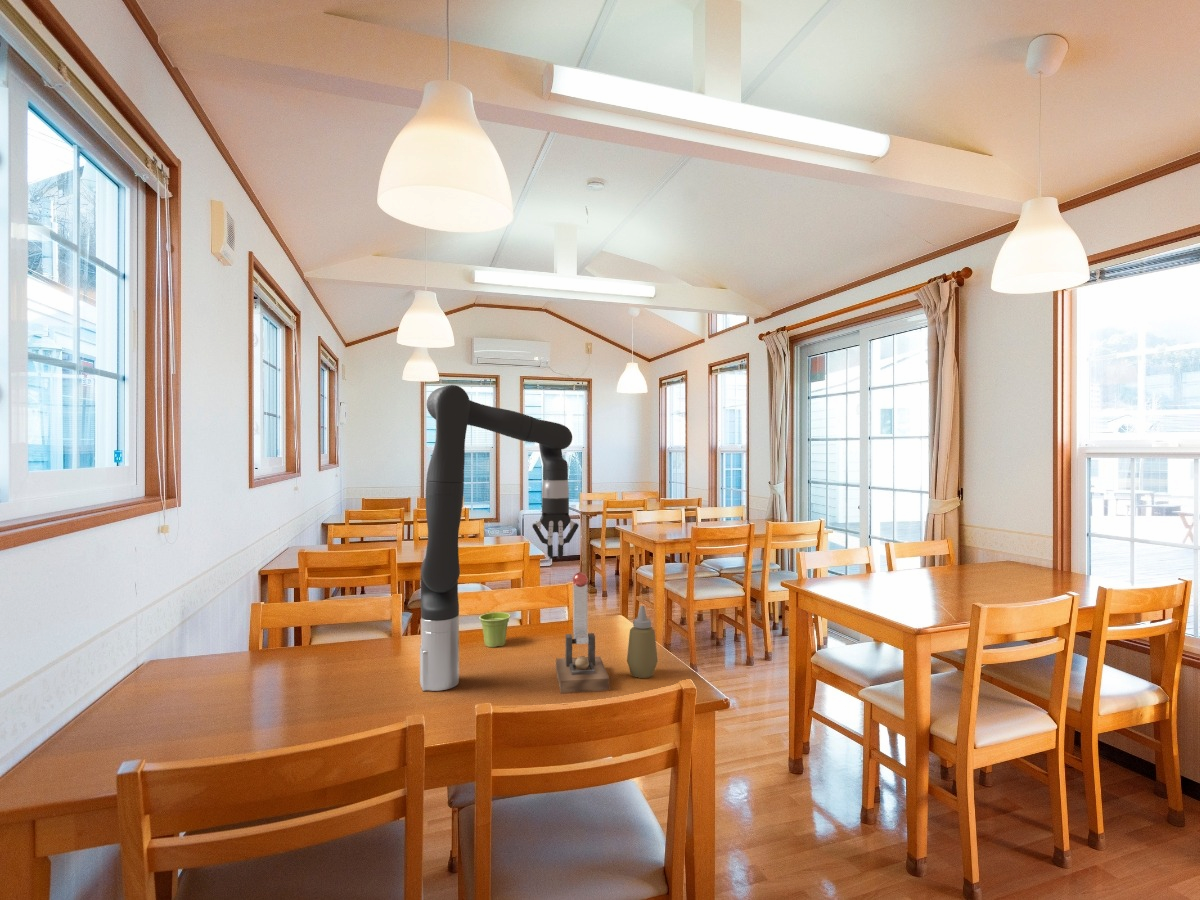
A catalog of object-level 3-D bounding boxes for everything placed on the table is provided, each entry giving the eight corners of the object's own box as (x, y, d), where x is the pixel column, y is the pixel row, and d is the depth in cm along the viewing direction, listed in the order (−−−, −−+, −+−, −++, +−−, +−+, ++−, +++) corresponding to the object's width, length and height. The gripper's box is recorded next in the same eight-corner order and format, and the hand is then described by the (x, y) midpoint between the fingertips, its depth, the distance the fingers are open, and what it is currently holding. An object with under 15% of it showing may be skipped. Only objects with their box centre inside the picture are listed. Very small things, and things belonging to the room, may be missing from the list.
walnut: (578, 673, 152) (578, 659, 152) (573, 668, 155) (573, 655, 155) (591, 671, 153) (591, 657, 153) (585, 666, 156) (585, 653, 156)
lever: (574, 644, 153) (574, 576, 153) (571, 635, 160) (571, 571, 160) (590, 643, 153) (590, 576, 153) (586, 634, 161) (586, 570, 161)
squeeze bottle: (658, 680, 155) (658, 610, 155) (627, 680, 155) (627, 610, 155) (656, 669, 163) (656, 602, 163) (626, 669, 163) (626, 602, 163)
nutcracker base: (560, 693, 147) (560, 649, 147) (556, 669, 162) (556, 630, 162) (609, 690, 148) (609, 647, 148) (600, 667, 164) (600, 628, 164)
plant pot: (473, 647, 181) (473, 618, 181) (488, 638, 190) (488, 611, 190) (501, 650, 178) (501, 621, 178) (515, 641, 187) (515, 613, 187)
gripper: (531, 497, 164) (531, 561, 164) (581, 496, 166) (581, 560, 166) (530, 495, 171) (530, 556, 171) (578, 495, 173) (578, 555, 173)
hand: (555, 558), depth 169 cm, fingers closed
